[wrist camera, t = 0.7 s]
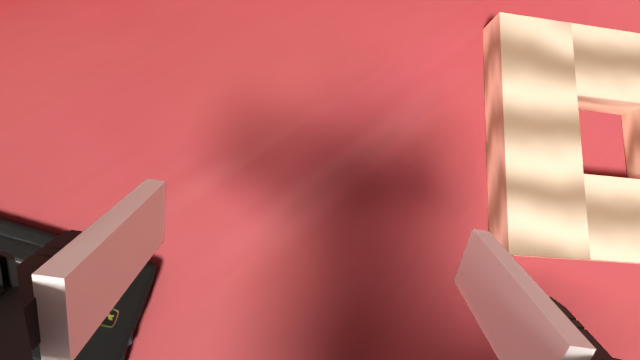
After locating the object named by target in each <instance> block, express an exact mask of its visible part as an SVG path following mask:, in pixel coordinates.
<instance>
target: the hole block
mask: <svg viewBox="0 0 640 360" xmlns="http://www.w3.org/2000/svg"><path fill="white" fill-rule="evenodd" d="M483 55H484V89H485V123H486V157H487V191H488V225H489V232H490V233H491V234H492V235H493V236H494V237H495V238H496V239H497V240H498V242H499V243H500V244H501V245H502V246H503V247H504V248H505V249H506V250H507V251H508V253H509V254H510V255H511V256H526V257H541V258H556V259H571V260H587V261H602V262H617V263H632V264H640V33H633V32H627V31H620V30H614V29H607V28H600V27H594V26H587V25H581V24H574V23H568V22H561V21H555V20H548V19H541V18H535V17H528V16H522V15H515V14H509V13H502V12H499V13H498V14H497V15H496V16H495V17H494V18H493V19H492V20H491V21H490V22H489V23H488V24H487V25H486V27H485V28H484V29H483ZM578 110H586V111H595V112H603V113H611V114H619V115H621V120H622V130H623V139H624V149H625V158H626V168H627V177H628V178H622V177H612V176H602V175H591V174H584V173H583V160H582V148H581V136H580V124H579V112H578Z"/></svg>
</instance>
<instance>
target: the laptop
mask: <svg viewBox="0 0 640 360" xmlns="http://www.w3.org/2000/svg"><path fill="white" fill-rule="evenodd" d="M56 236H58V235H57V234H53V233H50V232H47V231H44V230H41V229H37V228H34V227H30V226H27V225H23V224H20V223H16V222H13V221H10V220H7V219H3V218H0V251H4V252H7V253H10V254H12V255H13V256H14V258H15V260H16V266H17V265H19V264H20V263H21V262H23V261H24V260H25V259H27V258H28V257H29V256H31V255H33V254H34V252H36V251H37V250H38V249H40V248H43V246H44V245H45V244H46V243H48V242H49V241H50V240H52V239H53V238H54V237H56ZM155 273H156V266H155V265H154V264H153V263H151V262H149V261H148V262H147V263H146V265H145V266H144V267H143V269H142V270H141V271H140V273H139V274H138V275H137V277H136V278H135V279H134V281H133V282H132V283H131V285H130V286H129V287H128V289H127V290H126V291H125V293H124V294H123V295H122V297H121V298H120V299H119V301H118V302H117V303H116V305H115V306H114V307H113V309H112V310H111V311H110V313H109V314H108V315H107V317H106V318H105V319H104V320H103V322H102V323H101V324H100V326H99V327H98V328H97V330H96V331H95V332H94V334H93V335H92V336H91V338H90V339H89V340H88V342H87V343H86V344H85V346H84V347H83V348H82V350H81V351H80V352H79V354H78V355H77V356H76V358H75V359H74V360H125V356H126V353H127V349H128V347H129V345H131V343H132V341H133V335H134V331H135V329H136V326H137V323H138V321H139V318H140V316H141V314H142V312H143V309H144V307H145V305H146V301H147V298H148V295H149V292H150V289H151V286H152V283H153V280H154V278H155ZM32 357H33V360H41V354H40V345H38V346H37V347H36V348H35V349H34V350H33V351H32Z"/></svg>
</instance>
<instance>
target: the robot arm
mask: <svg viewBox="0 0 640 360" xmlns="http://www.w3.org/2000/svg"><path fill="white" fill-rule="evenodd" d="M165 200H166V181H160V180H154V179H146V180H145V181H143V182H142V183H141V184H140V185H139V186H137V187H136V188H135V189H134V190H133V191H131V192H130V193H129V194H128V195H126V196H125V197H124V198H123V199H122V200H120V201H119V202H118V203H117V204H116V205H114V206H113V207H112V208H111V209H110V210H108V211H107V212H106V213H105V214H104V215H102V216H101V217H100V218H99V219H98V220H96V221H95V222H94V223H93V224H91V225H90V226H89V227H88V228H87V229H85V230H84V231H76V230H71V231H68V232H66V233H63V234H61V235H58V236H56V237H54V238H53V239H52V240H50V241H49V242H48V243H46V244H45V245H44V246H43V248H40V249H38V250H37V251H36V252H34V254H33V255H31V256H29V257H28V258H27V259H25V260H24V261H23V262H21V263H20V264H19V265H17V266H16V260H15V258H14V256H13V255H12V254H10V253H7V252H4V251H0V360H33V357H32V351H33V350H34V349H35V348H36V347H37V346H38V345H40V354H41V360H74V359H75V358H76V356H77V355H78V354H79V352H80V351H81V350H82V348H83V347H84V346H85V344H86V343H87V342H88V340H89V339H90V338H91V336H92V335H93V334H94V332H95V331H96V330H97V328H98V327H99V326H100V324H101V323H102V322H103V320H104V319H105V318H106V317H107V315H108V314H109V313H110V311H111V310H112V309H113V307H114V306H115V305H116V303H117V302H118V301H119V299H120V298H121V297H122V295H123V294H124V293H125V291H126V290H127V289H128V287H129V286H130V285H131V283H132V282H133V281H134V279H135V278H136V277H137V275H138V274H139V273H140V271H141V270H142V269H143V267H144V266H145V265H146V263H147V262H148V261H149V259H150V258H151V257H152V255H153V254H154V253H155V251H156V250H157V249H158V247H159V246H160V245H161V243H162V242H163V241H164V230H165ZM454 283H455V284H456V286H457V288H458V290H459V291H460V293H461V295H462V297H463V298H464V300H465V302H466V304H467V305H468V307H469V309H470V311H471V312H472V314H473V316H474V318H475V319H476V321H477V323H478V325H479V326H480V328H481V330H482V332H483V333H484V335H485V337H486V339H487V340H488V342H489V344H490V346H491V347H492V349H493V351H494V352H495V354H496V356H497V358H498V359H499V360H620V359H616V358H612V357H611V356H610V355H609V354H608V352H607V351H606V350H605V349H604V348H603V347H602V346H601V345H600V344H599V343H598V342H597V341H596V340H595V339H594V337H593V336H592V335H591V334H590V333H589V332H588V331H587V330H584V327H583V326H582V325H581V324H580V322H579V321H576V318H575V317H574V316H573V315H572V314H571V313H570V312H569V311H568V310H567V309H566V308H565V307H564V306H563V305H561V304H560V303H559V302H557V301H556V300H554V299H553V298H552V297H548V295H547V294H546V293H545V292H544V291H543V290H542V289H541V288H540V287H539V286H538V284H537V283H536V282H535V281H534V280H533V279H532V278H531V277H530V276H529V275H528V273H527V272H526V271H525V270H524V269H523V268H522V267H521V266H520V265H519V264H518V262H517V261H516V260H515V259H514V258H513V257H512V256H511V255H510V254H509V253H508V251H507V250H506V249H505V248H504V247H503V246H502V245H501V244H500V243H499V242H498V240H497V239H496V238H495V237H494V236H493V235H492V234H491V233H490V232H489V231H484V230H478V229H472V231H471V234H470V237H469V240H468V242H467V245H466V248H465V251H464V254H463V256H462V259H461V262H460V265H459V268H458V270H457V273H456V276H455V279H454Z"/></svg>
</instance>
